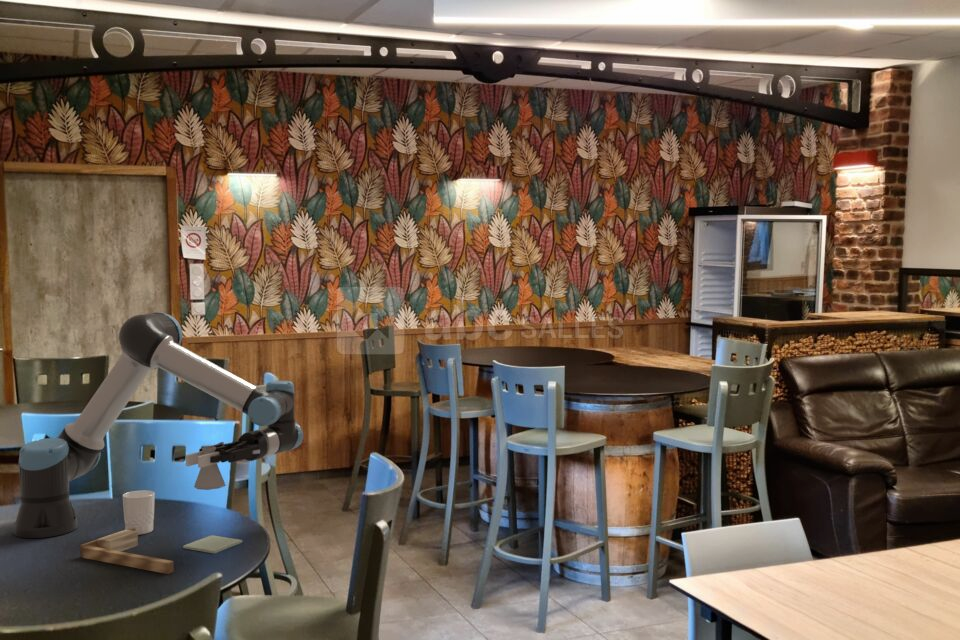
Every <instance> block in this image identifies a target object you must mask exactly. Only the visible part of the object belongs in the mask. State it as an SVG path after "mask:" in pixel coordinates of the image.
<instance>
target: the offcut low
mask: <svg viewBox="0 0 960 640" xmlns="http://www.w3.org/2000/svg"><path fill="white" fill-rule="evenodd" d="M134 547H138V540H135V541H132V542H129V543H126V544H123V545H121V546H118V547H115V548H112V549H110V550H115V551H121V552H125V551H127V550H129V549H131V548H134ZM104 549H105V548H104Z"/></svg>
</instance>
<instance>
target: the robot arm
mask: <svg viewBox="0 0 960 640" xmlns="http://www.w3.org/2000/svg"><path fill="white" fill-rule="evenodd" d="M118 341H119V345H120V351H121V355H120V356H119V358H118V359H117V361H116V362H115V364H114V365H113V367H112V368H111V369H110V371H109V372H108V374H107V376H106V377H105V378H104V380H103V381H102V382H101V384H100V385H99V386H98V388H97V390H96V391H95V393H94V394H93V396H92V397H91V399H90V400H89V401H88V403H87V404H86V405H85V407H84V409H82V412H81V413H80V415H79V416H78V418H77V419H76V420H75V422H70V423H67V424H66V425H65V426H64V428H63V430H61V432H60V434H59V435H58V436H57V437H50V438H49V437H48V438H40V439H38V440H33V441H30V442H27V443H25V444H24V445H22V446H21V448H20V450H19V453H18V454H19V455H18V456H19V458H18V467H19V470H18V471H19V490H20V491H19V492H20V494H19V495H20V505H19V508H18V511H17V515H16V519H15V522H14V525H13V535H14V536H15V537H19V538H24V539H42V538H50V537H56V536H61V535H65V534H68V533H72V532H73V531H74V530H77V528H78V518H77V515H76V512H75V510H74V507H73V505H72V502H71V499H70V482H71V481H73V480H76V479H77V478H81V477H83V476H85V475H87V474H89V473H90V472H91V471H92V470H93V469H95V467H96V466H97V465H98V463H99V461H100V459H101V452H102V450H103V449H104V447H105V441H104V438H105V436H106V435H107V434H108V432H109V430H110V429H111V427H112V426H113V425H114V423H115V422H116V420H117V419H118V418H119V416H120V415H121V413H122V411H124V409H125V407H126V406H127V405H128V403H129V401H130V400H131V399H132V398H133V396H134V394H135V393H136V391H137V390H138V388H139V387H140V386H141V384H142V383H143V381H144V380H145V378H146V377H147V376H148V374H149V373H150V371H154V370H158V369H161V370H163V371H164V372H167V373H168V374H170V375H172V376H175V377H176V378H178V379H180V380H182V381H183V382H185V383H187V384H189V385H191V386H192V387H195V388H197V390H200V391H202V392H204V393H206V394H208V395H209V396H211V397H213V398H215V399H217V400H219V401H221V402H222V403H223V404H224V403H225V404H226V405H227V406H230V407H232V408H234V409H236V410H237V411H239V412H241V413H243V414H245V415H247V416H248V418H249V420H250V421H251V422H252V423H253V424H254V425H256V426H259V427H264V428H259V429H255V430H252V431H248V432H244V433H242V434H241V435H240V437H239V438H238V440H233V441H232V442H227V443H226V442H224V441H221V442H218V443H216V444H213V445H211V446H214V447H216V450H215V452H213V453H209V454H206V455H203V450H202V448H203V447H201V448H199V450H198V451H196V452H194V453H193V452H192V453H190V454H189V453H188V454H185V466H186V467H191V466H195V465H197V468H199V469H200V468H202V467H205V466H209V465H213V464H216V463H217V464H220V463H221V464H223V463H226V462H227V463H230V464H233V463H234V462H238V461H242V460H246V461H247V462H253V461H256V460H260V459H263V460H265V459H267V458H268V457H269V456H273V455H277V454H281V453H284V452H285V453H286V452H289V451H291V450H294V449H296V448H298V447H299V446H300V445H301V444H302V443H303V440H304V431H303V430H302V427H301V426H300V425H299V424H298V423H297V422H296V420H295V415H296V414H295V412H296V411H295V408H296V407H295V395H296V392H295V385H294V383H293V382H292V381H290V380H273V381H272V380H271V381H269V382H267V383H266V388H265V390H264V389H261V388H260V387H258V386H256V385H255V384H252V383H251V382H249V381H247V380H245V379H244V378H241V377H240V376H238V375H236V374H234V373H232V372H230V371H228V370H227V369H225V368H223V367H221V366H220V365H217V364H215V363H214V362H212V361H210V360H208V359H206V358H204V357H202V356H201V355H199V354H197V353H195V352H193V351H191V350H190V349H188V348H186V347H184V346H183V345H181V343H182V341H183V331H182V326H181V325H180V323H179V322H178V320H177V319H176V318H175V317H173V315H171V314H168V313H165V312H161V311H159V312H158V311H157V312H151V313H146V314H136V315H133V316H131V317H130V318H128V319H126V320H125V321H124V322H123V324H122V325H121V327H120V329H119V333H118Z"/></svg>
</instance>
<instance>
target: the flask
mask: <svg viewBox="0 0 960 640" xmlns="http://www.w3.org/2000/svg"><path fill="white" fill-rule="evenodd" d="M201 448H202V450H203V455H206V454H209V453H213V452H215V450H216V447H214V446H212V445H210V446H204V447H201ZM226 485H227V484H226V482H225V480H224V478H223V476H222V473H221V470H220V468H219V465H218V463H216V464H213V465H209V466H205V467H202V468H199V472H198V475H197V477H196V480H195V482H194V486H193V487H194V488H195V489H197V490H203V491H204V490H205V491H211V490H218V489H222V488H224V487H226Z"/></svg>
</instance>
